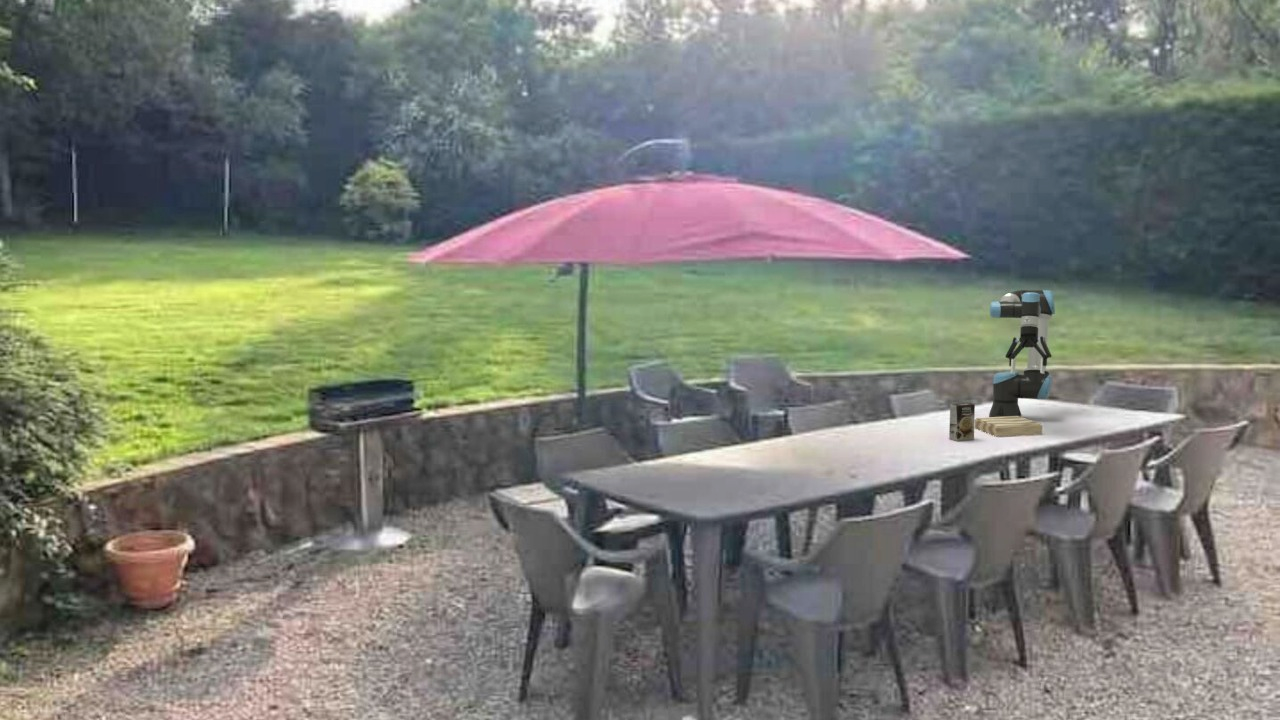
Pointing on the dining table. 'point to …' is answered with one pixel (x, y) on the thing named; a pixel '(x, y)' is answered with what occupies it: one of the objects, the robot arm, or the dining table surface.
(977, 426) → the stand
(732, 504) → the dining table surface
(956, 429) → the coffee box
